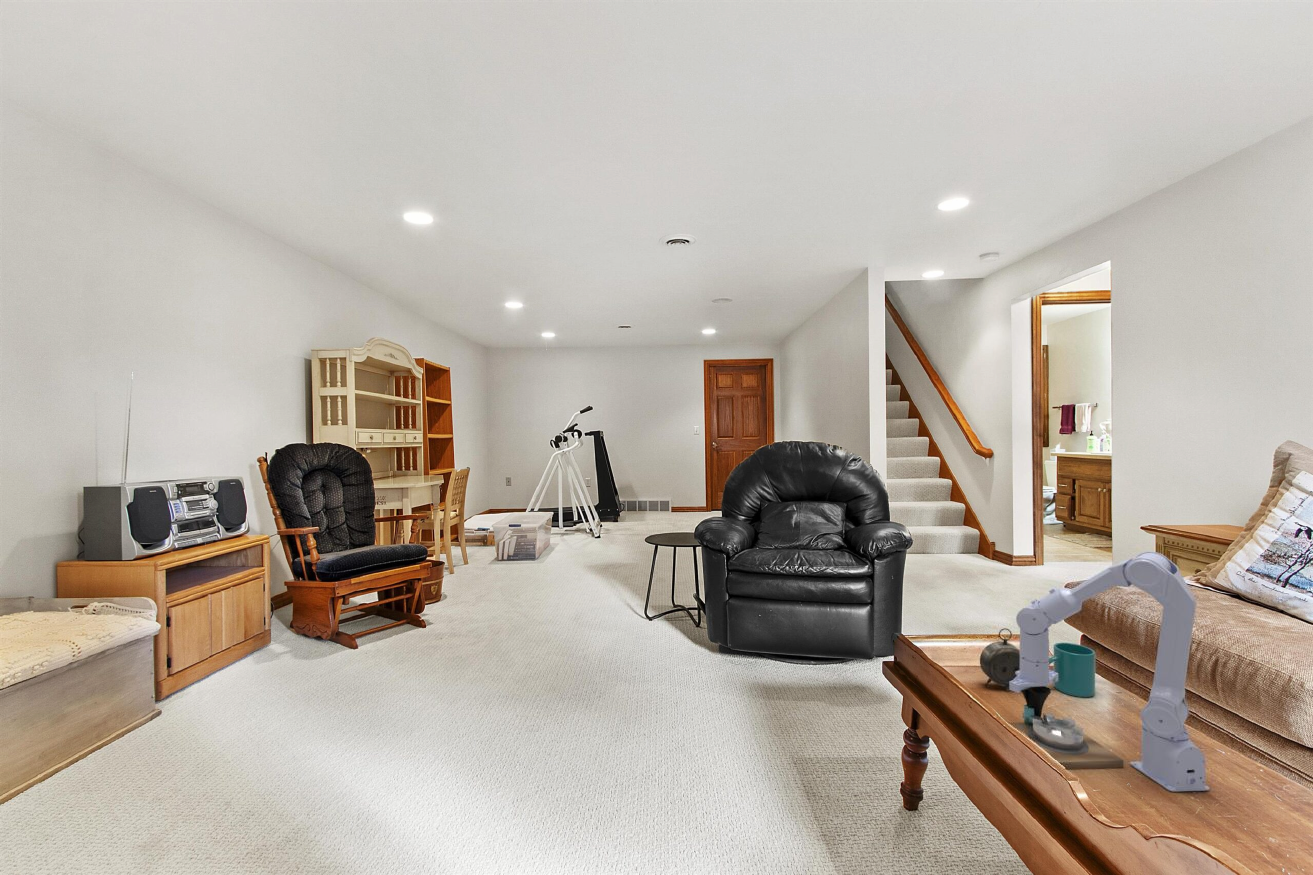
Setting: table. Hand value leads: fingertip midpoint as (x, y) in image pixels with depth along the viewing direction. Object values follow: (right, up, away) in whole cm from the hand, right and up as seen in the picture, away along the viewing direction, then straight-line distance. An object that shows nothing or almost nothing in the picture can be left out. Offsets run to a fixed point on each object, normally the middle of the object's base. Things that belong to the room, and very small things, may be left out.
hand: (1034, 716), depth 135 cm
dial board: (+1, -4, -7) cm, 8 cm away
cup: (+23, -3, +21) cm, 31 cm away
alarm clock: (+7, -3, +23) cm, 24 cm away
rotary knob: (0, -1, -5) cm, 6 cm away
